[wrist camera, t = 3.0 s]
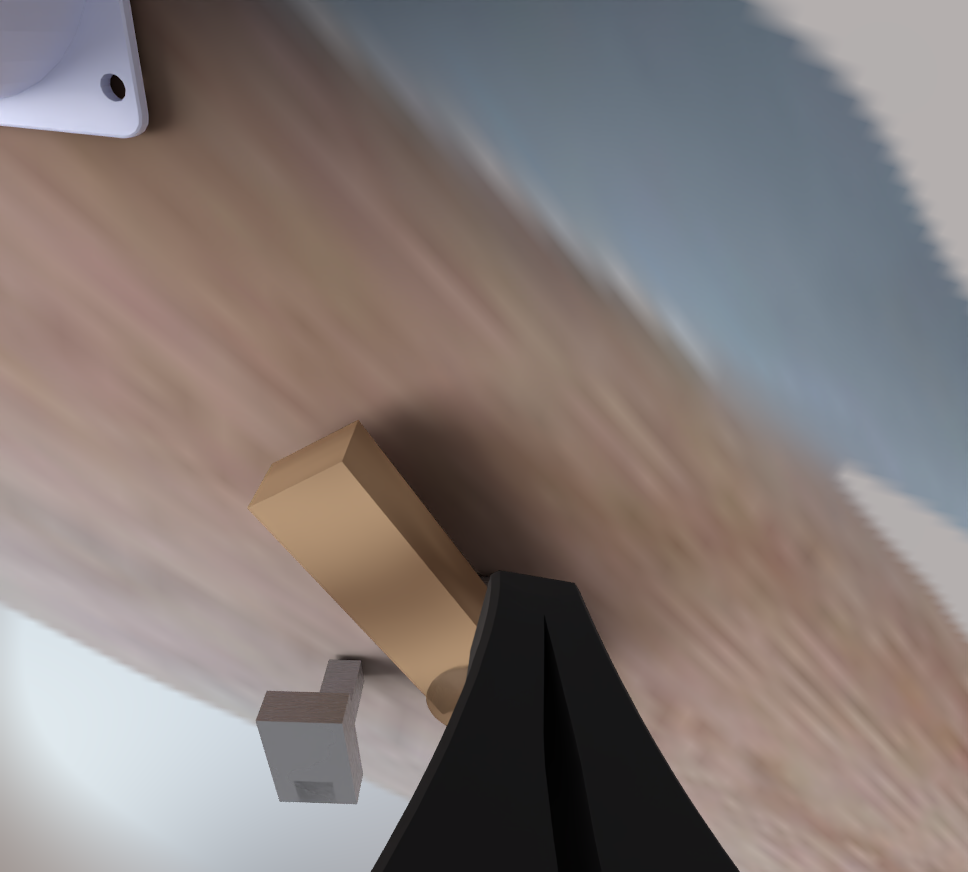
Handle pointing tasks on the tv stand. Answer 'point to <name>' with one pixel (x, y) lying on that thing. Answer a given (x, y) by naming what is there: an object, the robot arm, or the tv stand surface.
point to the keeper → (315, 738)
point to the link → (378, 557)
